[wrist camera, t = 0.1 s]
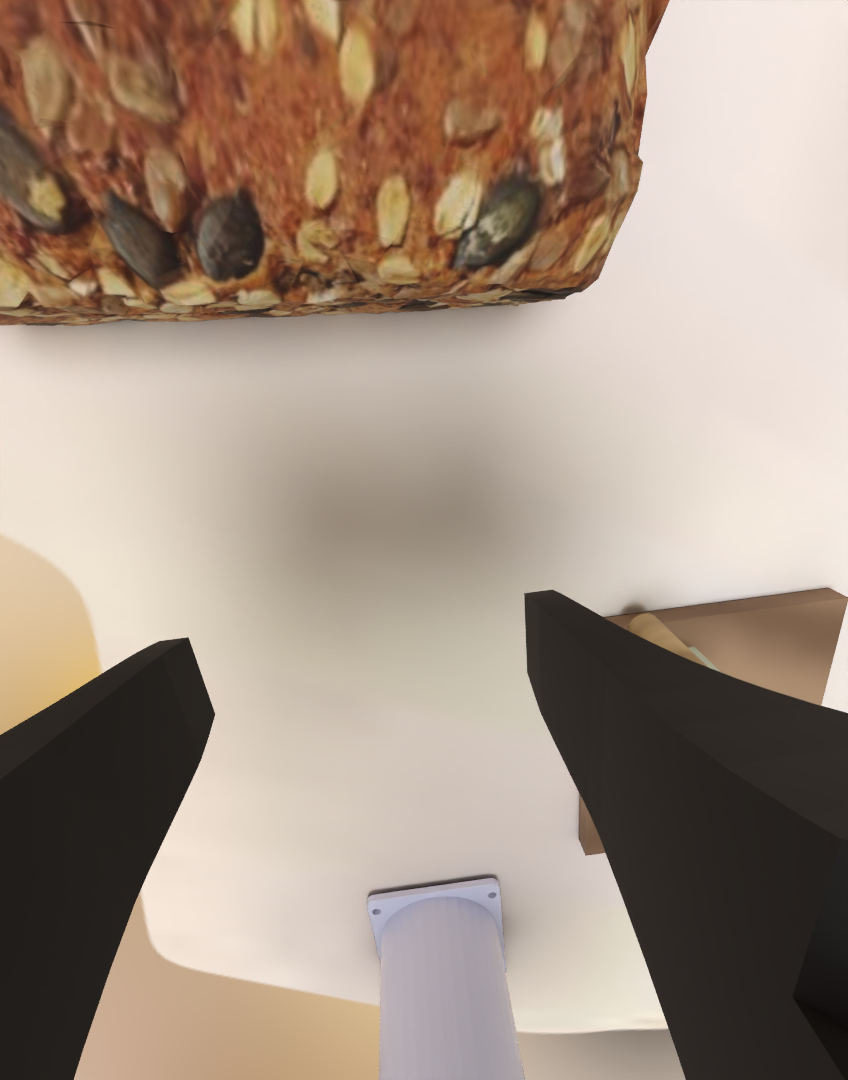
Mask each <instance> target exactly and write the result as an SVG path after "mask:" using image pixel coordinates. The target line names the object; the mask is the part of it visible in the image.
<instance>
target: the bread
mask: <svg viewBox="0 0 848 1080" xmlns="http://www.w3.org/2000/svg"><path fill="white" fill-rule="evenodd" d="M668 2H669V0H0V325H24V324H26V325H49V326H54V325H68V326H72V325H92V324H99V323H106V322H113V321H121V320H135V321H203V320H214V319H234V318H238V317H290V316H305V315H309V314H324V315H335V314H349V313H378V314H379V313H384V312H388V311H392V312H410V311H428V310H437V309H446V308H450V309H458V308H470V307H480V306H495V305H509V304H511V305H516V306H518V305H519V304H525V303H535V302H539V301H551V300H556V299H565V298H566V297H567V296H568V295H571V294H573V293H575V292H582V291H583V290H585V289H586V288H588V287H589V286H590V285H591V284H592V283H593V282H595V281H596V280H597V279H598V278H599V275H600V273H601V271H602V268H603V266H604V263H605V261H606V258H607V256H608V254H609V251H610V249H611V246H612V244H613V241H614V239H615V237H616V235H617V233H618V231H619V229H620V227H621V225H622V223H623V221H624V219H625V216H626V214H627V212H628V210H629V208H630V206H631V204H632V201H633V199H634V197H635V195H636V193H637V191H638V186H639V181H640V175H641V170H642V165H643V162H642V160H641V159H640V158H639V156H638V152H639V145H640V138H641V131H642V124H643V117H644V110H645V104H646V98H647V82H646V64H645V56H646V54H647V51H648V49H649V47H650V45H651V42H652V40H653V38H654V36H655V33H656V31H657V29H658V27H659V24H660V22H661V19H662V17H663V15H664V12H665V10H666V7H667V5H668Z"/></svg>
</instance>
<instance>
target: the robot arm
mask: <svg viewBox="0 0 848 1080" xmlns="http://www.w3.org/2000/svg"><path fill="white" fill-rule="evenodd" d="M524 595H525V622H526V649H527V673H528V676H529V679H530V682H531V685H532V688H533V691H534V694H535V697H536V700H537V703H538V706H539V709H540V712H541V714H542V716H543V719H544V721H545V723H546V725H547V727H548V729H549V731H550V733H551V735H552V738H553V740H554V742H555V744H556V746H557V748H558V750H559V752H560V754H561V756H562V758H563V760H564V762H565V764H566V766H567V768H568V771H569V773H570V775H571V777H572V779H573V781H574V783H575V785H576V787H577V789H578V791H579V793H580V795H581V797H582V799H583V801H584V803H585V806H586V808H587V810H588V812H589V814H590V816H591V818H592V821H593V823H594V825H595V828H596V830H597V832H598V834H599V837H600V839H601V842H602V844H603V847H604V850H605V852H606V855H607V858H608V860H609V863H610V866H611V868H612V871H613V874H614V876H615V879H616V882H617V884H618V887H619V890H620V892H621V895H622V898H623V900H624V903H625V906H626V909H627V911H628V914H629V917H630V920H631V922H632V925H633V928H634V931H635V934H636V936H637V939H638V942H639V945H640V947H641V950H642V953H643V956H644V958H645V961H646V964H647V967H648V970H649V973H650V976H651V978H652V981H653V984H654V987H655V990H656V993H657V996H658V999H659V1002H660V1005H661V1007H662V1010H663V1013H664V1016H665V1019H666V1022H667V1025H668V1028H669V1031H670V1033H671V1036H672V1039H673V1042H674V1045H675V1048H676V1051H677V1054H678V1057H679V1060H680V1063H681V1066H682V1069H683V1072H684V1075H685V1078H686V1080H848V713H845V712H842V711H838V710H834V709H831V708H827V707H824V706H820V705H817V704H813V703H810V702H807V701H804V700H801V699H797V698H794V697H791V696H788V695H785V694H782V693H778V692H775V691H772V690H769V689H766V688H763V687H760V686H757V685H754V684H751V683H748V682H746V681H743V680H740V679H737V678H735V677H732V676H729V675H727V674H724V673H722V672H719V671H717V670H714V669H711V668H709V667H706V666H704V665H701V664H699V663H696V662H694V661H691V660H689V659H687V658H684V657H682V656H680V655H677V654H675V653H673V652H671V651H669V650H667V649H665V648H663V647H660V646H658V645H656V644H654V643H652V642H650V641H648V640H646V639H644V638H642V637H640V636H638V635H636V634H634V633H632V632H630V631H628V630H626V629H624V628H622V627H620V626H618V625H617V624H615V623H613V622H611V621H609V620H607V619H605V618H604V617H602V616H600V615H598V614H596V613H595V612H593V611H591V610H589V609H588V608H586V607H584V606H582V605H581V604H579V603H577V602H575V601H573V600H572V599H570V598H568V597H566V596H564V595H562V594H560V593H559V592H556V591H554V590H547V591H539V592H532V593H524ZM214 716H215V712H214V710H213V707H212V704H211V701H210V698H209V695H208V692H207V689H206V687H205V684H204V681H203V678H202V675H201V672H200V669H199V667H198V664H197V661H196V658H195V655H194V652H193V649H192V646H191V644H190V641H189V638H180V639H173V640H165V641H159V642H157V643H155V644H153V645H151V646H148V647H147V648H145V649H143V650H141V651H139V652H137V653H136V654H134V655H132V656H130V657H129V658H127V659H125V660H124V661H122V662H120V663H119V664H117V665H115V666H114V667H112V668H111V669H109V670H107V671H106V672H104V673H102V674H101V675H99V676H98V677H96V678H94V679H93V680H91V681H90V682H88V683H86V684H85V685H83V686H81V687H80V688H79V689H77V690H75V691H73V692H72V693H70V694H69V695H67V696H65V697H64V698H62V699H60V700H59V701H57V702H56V703H54V704H52V705H51V706H49V707H47V708H46V709H44V710H42V711H40V712H39V713H37V714H35V715H34V716H32V717H30V718H29V719H27V720H25V721H24V722H22V723H20V724H18V725H17V726H15V727H13V728H12V729H10V730H8V731H7V732H5V733H3V734H1V735H0V1080H74V1077H75V1073H76V1070H77V1067H78V1064H79V1061H80V1057H81V1054H82V1051H83V1048H84V1045H85V1042H86V1039H87V1036H88V1033H89V1030H90V1027H91V1024H92V1021H93V1018H94V1015H95V1012H96V1010H97V1006H98V1004H99V1001H100V998H101V995H102V992H103V989H104V986H105V983H106V980H107V977H108V974H109V971H110V968H111V966H112V963H113V961H114V958H115V955H116V952H117V949H118V946H119V944H120V941H121V939H122V936H123V933H124V931H125V928H126V925H127V922H128V920H129V917H130V915H131V912H132V909H133V906H134V904H135V901H136V899H137V897H138V895H139V892H140V890H141V888H142V885H143V883H144V881H145V878H146V876H147V874H148V872H149V870H150V868H151V865H152V863H153V861H154V859H155V857H156V855H157V853H158V851H159V849H160V846H161V844H162V842H163V840H164V838H165V836H166V834H167V832H168V830H169V827H170V825H171V823H172V821H173V819H174V817H175V815H176V813H177V811H178V809H179V806H180V804H181V802H182V800H183V798H184V796H185V794H186V792H187V789H188V787H189V785H190V783H191V781H192V779H193V776H194V774H195V772H196V770H197V768H198V765H199V763H200V761H201V758H202V755H203V752H204V749H205V746H206V743H207V740H208V737H209V734H210V730H211V727H212V723H213V720H214ZM367 909H368V913H369V917H370V921H371V926H372V930H373V934H374V938H375V942H376V946H377V950H378V954H379V958H380V963H381V992H380V1045H379V1046H380V1047H379V1048H380V1049H379V1080H525V1077H524V1072H523V1066H522V1061H521V1055H520V1050H519V1045H518V1039H517V1034H516V1028H515V1023H514V1018H513V1012H512V1007H511V1002H510V996H509V991H508V985H507V980H506V975H505V973H506V963H505V950H504V937H503V923H502V910H501V897H500V887H499V882H498V880H496V879H494V878H487V879H480V880H473V881H466V882H459V883H452V884H445V885H437V886H430V887H423V888H416V889H409V890H402V891H395V892H388V893H381V894H374V895H371V896H370V897H369V898H368V899H367Z"/></svg>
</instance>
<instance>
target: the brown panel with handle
mask: <svg viewBox="0 0 848 1080" xmlns="http://www.w3.org/2000/svg"><path fill="white" fill-rule="evenodd" d="M847 602H848V597H846V596H844V595H842V594H840V593H838V592H836V591H834V590H832V589H830V588H825V589H818V590H810V591H803V592H795V593H787V594H780V595H772V596H764V597H757V598H749V599H742V600H734V601H726V602H719V603H711V604H703V605H696V606H688V607H681V608H673V609H665V610H658V611H650V612H642V613H635V614H627V615H620V616H612V617H604V618H605V619H607V620H609V621H611V622H613V623H615V624H617V625H618V626H620V627H622V628H624V629H626V630H628V631H630V632H632V633H634V634H636V635H638V636H640V637H642V638H644V639H646V640H648V641H650V642H652V643H654V644H656V645H658V646H660V647H663V648H665V649H667V650H669V651H671V652H673V653H675V654H677V655H680V656H682V657H684V658H687V659H689V660H691V661H694V662H696V663H699V664H701V665H704V666H706V667H708V666H707V665H706V664H705V663H704V662H702V661H701V660H700V659H699V658H698V657H697V656H696V655H695V654H694V653H693V652H692V651H691V650H690V649H689V647H695V648H696V649H697V650H698V651H699V652H700V653H701V654H703V655H704V656H705V657H706V658H707V659H708V660H709V661H710V662H711V663H712V664H713V665H714V666H715V667H717V668H718V669H719V670H720V671H721V672H722V673H724V674H727V675H729V676H732V677H735V678H737V679H740V680H743V681H746V682H748V683H751V684H754V685H757V686H760V687H763V688H766V689H769V690H772V691H775V692H778V693H782V694H785V695H788V696H791V697H794V698H797V699H801V700H804V701H807V702H810V703H813V704H817V705H820V706H821V704H822V700H823V696H824V692H825V688H826V684H827V680H828V676H829V672H830V669H831V665H832V661H833V657H834V653H835V649H836V645H837V641H838V637H839V633H840V629H841V626H842V622H843V618H844V614H845V610H846V606H847ZM579 840H580V842H581V845H582V847H583V850H584V853H585V855H593V854H600V853H606V852H605V850H604V847H603V844H602V842H601V839H600V837H599V834H598V832H597V830H596V828H595V825H594V823H593V821H592V818H591V816H590V814H589V812H588V810H587V808H586V806H585V803H584V801H583V799H582V797H581V795H580V812H579Z"/></svg>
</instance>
